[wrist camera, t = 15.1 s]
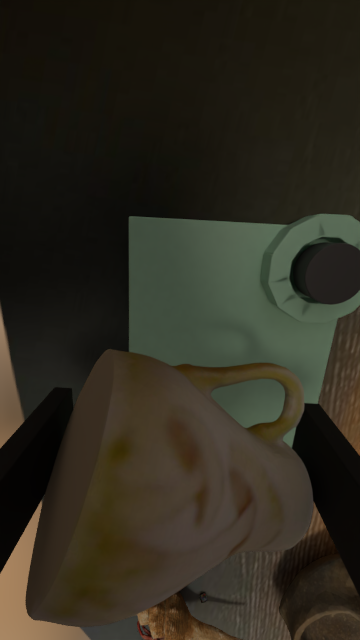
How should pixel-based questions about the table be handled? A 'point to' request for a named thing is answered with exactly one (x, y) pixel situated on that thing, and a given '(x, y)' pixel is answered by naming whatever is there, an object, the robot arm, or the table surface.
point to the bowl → (322, 602)
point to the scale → (234, 303)
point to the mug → (161, 488)
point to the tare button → (328, 272)
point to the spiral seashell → (177, 622)
